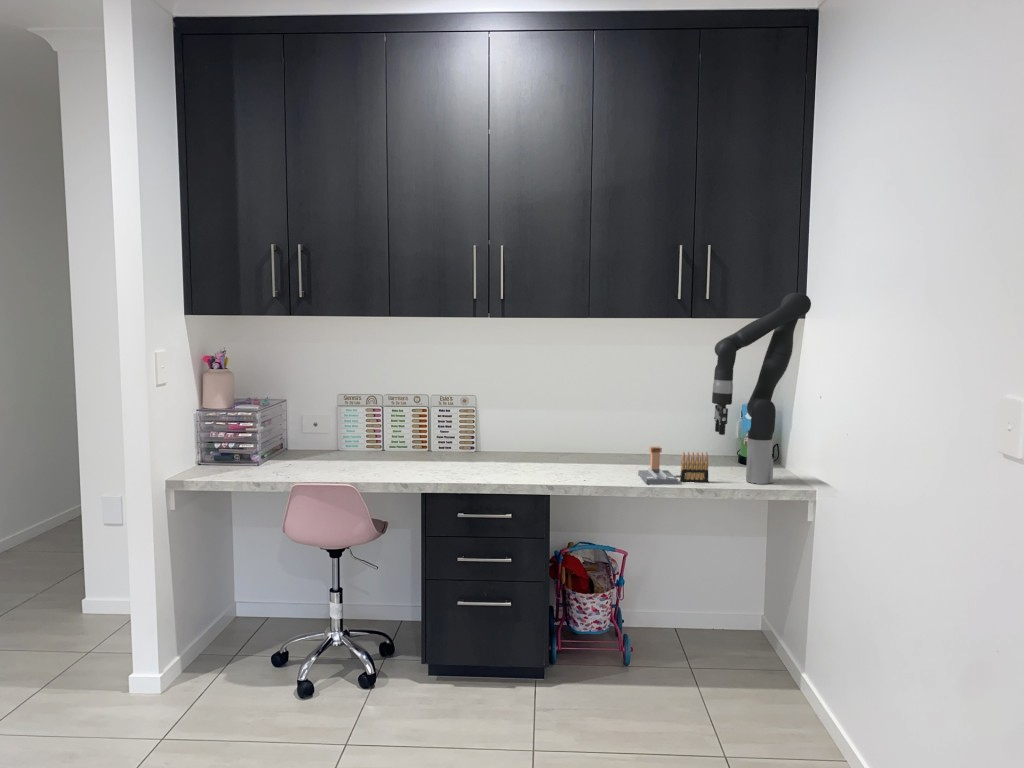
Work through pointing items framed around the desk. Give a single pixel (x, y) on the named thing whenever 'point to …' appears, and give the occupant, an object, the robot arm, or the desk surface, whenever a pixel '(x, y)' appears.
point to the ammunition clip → (694, 469)
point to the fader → (655, 458)
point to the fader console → (657, 477)
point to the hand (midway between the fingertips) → (719, 433)
